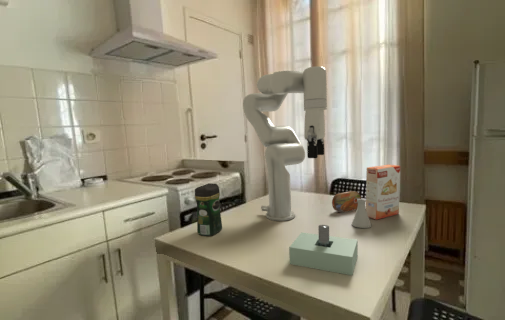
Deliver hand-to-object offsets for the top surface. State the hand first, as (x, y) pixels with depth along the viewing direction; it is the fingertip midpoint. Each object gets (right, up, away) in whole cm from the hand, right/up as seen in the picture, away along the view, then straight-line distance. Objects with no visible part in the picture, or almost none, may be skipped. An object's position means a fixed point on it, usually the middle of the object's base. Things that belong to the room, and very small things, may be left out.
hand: (316, 156), depth 97 cm
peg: (-1, -30, -14) cm, 34 cm away
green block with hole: (-1, -30, -14) cm, 34 cm away
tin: (+21, -24, +31) cm, 45 cm away
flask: (+20, -27, +12) cm, 35 cm away
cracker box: (+33, -25, +22) cm, 47 cm away
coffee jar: (-38, -29, +12) cm, 49 cm away
